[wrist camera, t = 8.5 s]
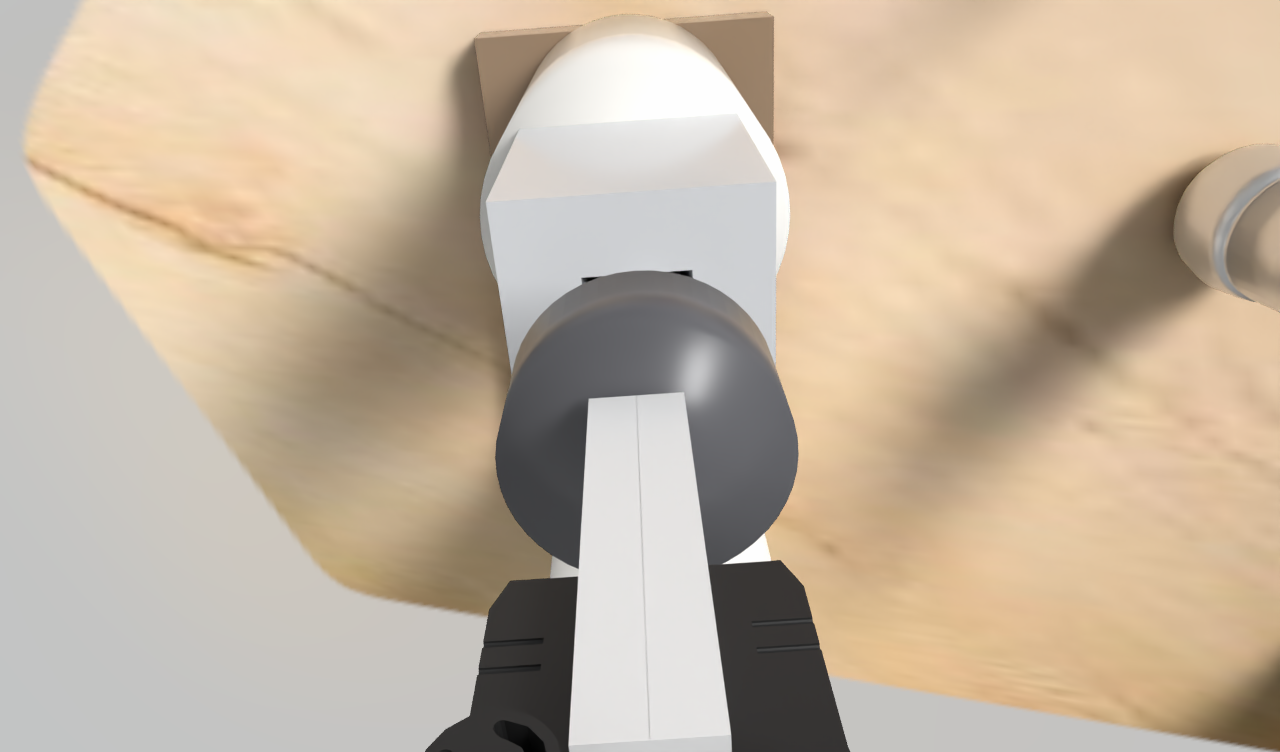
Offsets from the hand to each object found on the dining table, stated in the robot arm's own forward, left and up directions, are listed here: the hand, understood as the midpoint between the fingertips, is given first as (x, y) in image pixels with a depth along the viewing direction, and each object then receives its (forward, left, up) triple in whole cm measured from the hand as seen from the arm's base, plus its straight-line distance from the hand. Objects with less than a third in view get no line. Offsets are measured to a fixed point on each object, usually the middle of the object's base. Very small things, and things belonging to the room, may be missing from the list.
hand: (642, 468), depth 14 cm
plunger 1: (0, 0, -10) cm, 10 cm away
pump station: (-8, +2, -28) cm, 29 cm away
